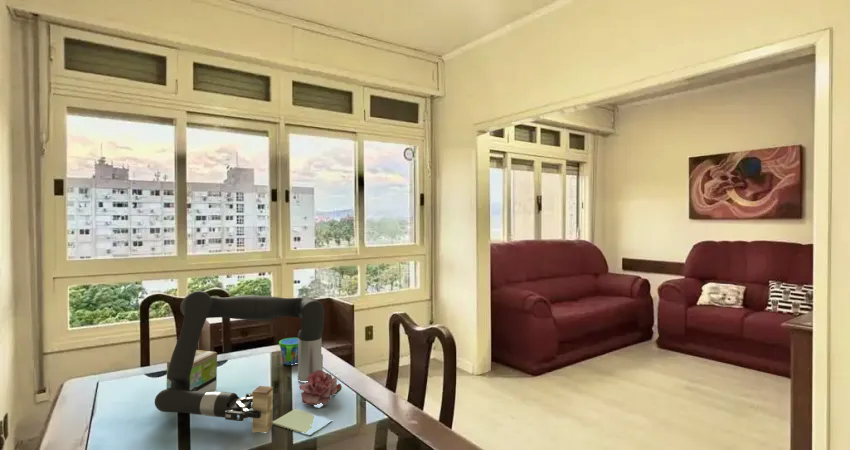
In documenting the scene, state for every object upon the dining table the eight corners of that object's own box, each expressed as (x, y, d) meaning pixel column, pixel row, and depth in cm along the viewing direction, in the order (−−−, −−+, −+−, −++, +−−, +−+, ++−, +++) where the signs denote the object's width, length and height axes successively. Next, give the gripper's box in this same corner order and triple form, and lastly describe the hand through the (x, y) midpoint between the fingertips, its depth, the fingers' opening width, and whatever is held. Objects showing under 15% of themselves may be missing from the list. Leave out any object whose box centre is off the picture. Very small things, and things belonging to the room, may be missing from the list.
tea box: (190, 405, 161) (190, 364, 160) (165, 402, 163) (165, 361, 162) (217, 388, 176) (217, 350, 175) (194, 385, 178) (194, 348, 177)
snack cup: (284, 357, 212) (284, 335, 212) (307, 357, 212) (307, 335, 212) (274, 369, 197) (274, 346, 196) (298, 370, 197) (299, 346, 196)
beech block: (259, 425, 149) (259, 385, 148) (272, 426, 148) (272, 386, 148) (252, 432, 144) (252, 391, 144) (266, 433, 144) (266, 392, 143)
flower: (295, 386, 173) (300, 364, 170) (334, 386, 178) (339, 365, 176) (298, 414, 160) (303, 391, 157) (339, 413, 165) (345, 391, 162)
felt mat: (295, 410, 160) (295, 408, 160) (332, 421, 153) (332, 419, 153) (271, 423, 150) (271, 422, 150) (310, 436, 143) (310, 434, 143)
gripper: (206, 402, 141) (256, 406, 139) (231, 384, 155) (276, 387, 153) (206, 426, 141) (256, 430, 139) (231, 405, 155) (276, 409, 153)
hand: (267, 408), depth 146 cm, fingers open, 8 cm apart
